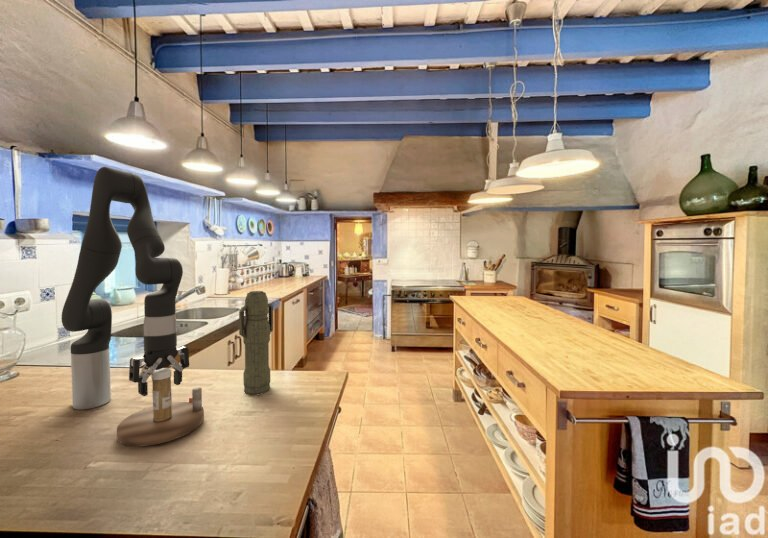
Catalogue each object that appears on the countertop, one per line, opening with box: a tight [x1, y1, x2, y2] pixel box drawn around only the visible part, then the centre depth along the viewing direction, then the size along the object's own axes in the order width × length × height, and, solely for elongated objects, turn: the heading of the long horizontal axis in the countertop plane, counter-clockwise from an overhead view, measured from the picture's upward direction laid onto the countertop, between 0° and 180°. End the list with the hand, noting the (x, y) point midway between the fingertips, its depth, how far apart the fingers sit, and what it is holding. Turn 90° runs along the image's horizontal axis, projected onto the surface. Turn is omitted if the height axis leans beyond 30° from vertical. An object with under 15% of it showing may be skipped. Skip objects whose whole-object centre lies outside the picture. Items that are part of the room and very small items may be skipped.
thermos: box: [238, 290, 274, 396], centre depth 119 cm, size 9×12×35 cm
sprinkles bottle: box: [151, 367, 173, 422], centre depth 93 cm, size 5×5×14 cm
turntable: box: [116, 386, 205, 447], centre depth 93 cm, size 20×20×8 cm
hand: (161, 389), depth 93 cm, fingers open, 8 cm apart
